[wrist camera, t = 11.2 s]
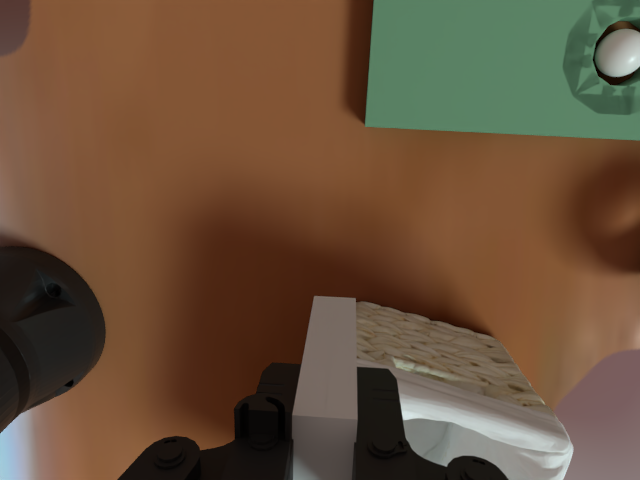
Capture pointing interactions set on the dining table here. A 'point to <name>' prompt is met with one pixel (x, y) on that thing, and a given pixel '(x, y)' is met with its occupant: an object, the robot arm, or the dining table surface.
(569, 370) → the dining table surface
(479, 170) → the dining table surface
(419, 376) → the storage basket
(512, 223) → the dining table surface
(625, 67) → the ball
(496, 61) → the mat
